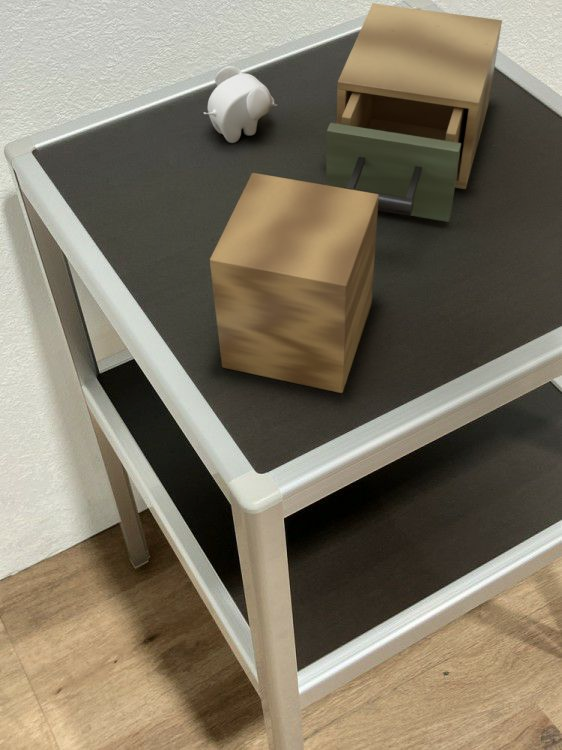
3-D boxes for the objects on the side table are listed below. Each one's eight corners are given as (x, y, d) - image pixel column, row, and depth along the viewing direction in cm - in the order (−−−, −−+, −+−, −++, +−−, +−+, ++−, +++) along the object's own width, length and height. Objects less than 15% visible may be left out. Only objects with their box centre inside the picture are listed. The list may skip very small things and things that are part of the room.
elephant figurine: (292, 133, 97) (291, 81, 92) (224, 162, 94) (220, 110, 90) (256, 100, 101) (253, 49, 96) (189, 128, 98) (183, 76, 93)
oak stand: (371, 304, 82) (378, 193, 72) (342, 393, 76) (346, 285, 66) (259, 282, 84) (252, 172, 74) (221, 367, 78) (209, 259, 68)
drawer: (436, 265, 83) (446, 195, 77) (309, 241, 86) (308, 171, 79) (472, 138, 94) (482, 68, 88) (358, 121, 96) (361, 51, 90)
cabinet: (465, 189, 91) (479, 102, 83) (335, 167, 93) (337, 81, 86) (488, 105, 99) (502, 19, 92) (368, 87, 101) (372, 2, 94)
